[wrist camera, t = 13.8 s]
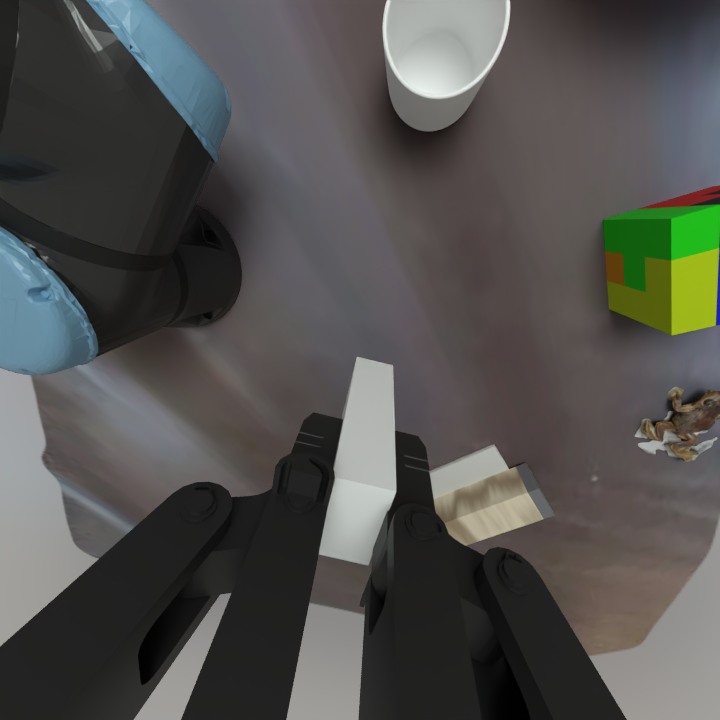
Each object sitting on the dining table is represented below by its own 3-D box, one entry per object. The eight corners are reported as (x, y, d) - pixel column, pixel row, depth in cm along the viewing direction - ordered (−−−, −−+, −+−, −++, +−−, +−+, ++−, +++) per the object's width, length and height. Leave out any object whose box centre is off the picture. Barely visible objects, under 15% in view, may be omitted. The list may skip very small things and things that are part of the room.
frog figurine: (652, 367, 41) (675, 381, 38) (752, 388, 41) (784, 404, 38) (608, 443, 46) (625, 461, 42) (698, 462, 46) (723, 482, 42)
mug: (489, -28, 30) (531, -152, 20) (472, 132, 34) (500, 96, 24) (390, -21, 31) (385, -136, 21) (387, 135, 35) (380, 101, 25)
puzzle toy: (709, 283, 37) (811, 304, 28) (608, 308, 39) (671, 335, 30) (713, 186, 34) (829, 172, 25) (602, 219, 36) (671, 218, 27)
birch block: (419, 561, 50) (555, 515, 44) (402, 538, 49) (539, 488, 43) (418, 532, 55) (540, 487, 49) (402, 511, 53) (526, 462, 47)
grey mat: (437, 546, 56) (437, 549, 55) (392, 486, 52) (392, 489, 52) (535, 512, 51) (536, 514, 51) (493, 443, 47) (494, 446, 47)
